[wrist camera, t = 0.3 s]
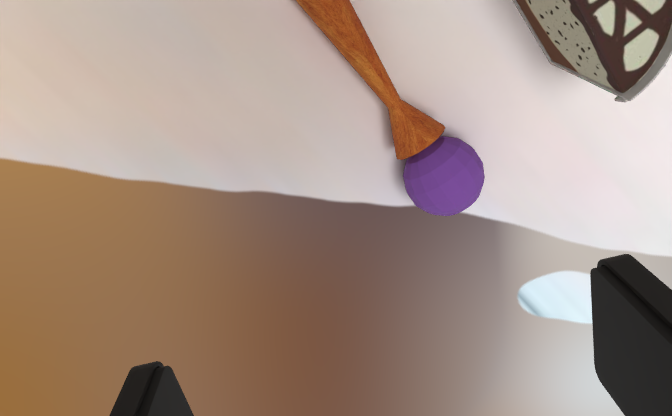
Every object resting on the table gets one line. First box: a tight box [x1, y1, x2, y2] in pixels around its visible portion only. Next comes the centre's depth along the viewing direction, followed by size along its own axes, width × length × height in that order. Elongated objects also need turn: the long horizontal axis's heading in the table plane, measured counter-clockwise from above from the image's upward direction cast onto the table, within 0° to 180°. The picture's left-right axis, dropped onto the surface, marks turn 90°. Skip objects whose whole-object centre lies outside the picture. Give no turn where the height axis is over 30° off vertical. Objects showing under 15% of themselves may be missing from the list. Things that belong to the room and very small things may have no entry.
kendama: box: [296, 0, 485, 216], centre depth 38 cm, size 6×6×20 cm
